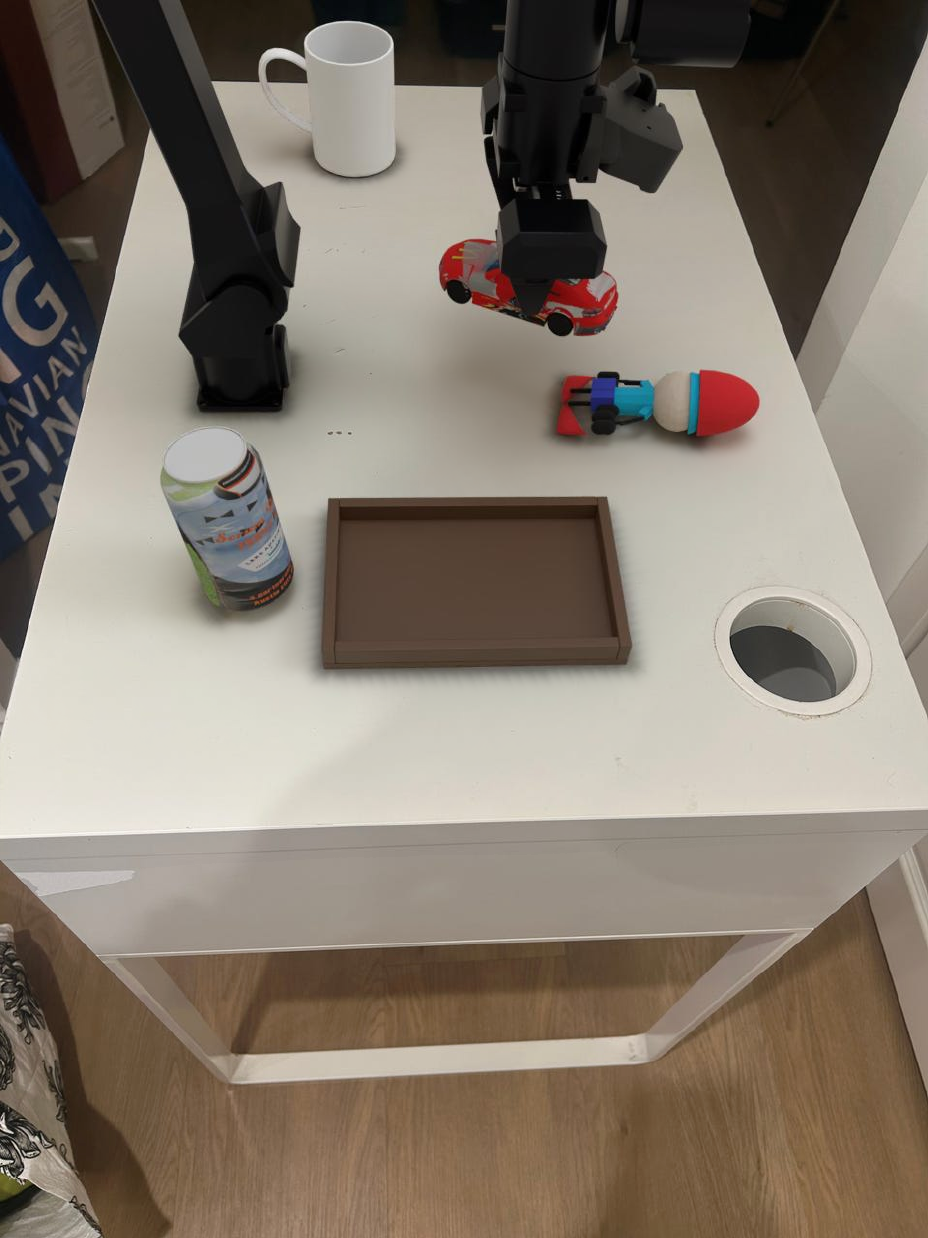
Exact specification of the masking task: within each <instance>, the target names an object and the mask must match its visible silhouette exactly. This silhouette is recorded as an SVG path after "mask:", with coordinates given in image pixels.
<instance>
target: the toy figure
mask: <svg viewBox="0 0 928 1238" xmlns="http://www.w3.org/2000/svg"><path fill="white" fill-rule="evenodd" d="M698 372H699V373H697V372H693V371H691V372H688V371H684V370H677V371H672V372H670V373H669V372H668V373H666V375H664V376H663V377H661V378H660V379H659V380H658V382H657V383H656V385H655V386H653V385H652V383H651V382H650V380H649V379H646V380H639V379H637V380H636V379H621V375H620V373H619V372H617V371H609V370H608V371H606V370H602V371H599V372H598V373H597V375H596V377H595V376H591V375H590V376H589V375H575V374H574V375H568V376H566V378H565V379H564V383H563V385H562V388H561V395H560V396H561V403H563V405H562V406H561V408H560V411H559V414H558V418H557V419H558V420H557V427H556V433H557V434H560V435H565V436H566V435H567V436H576V435H577V436H580V435H581V436H582V435H587V432H585V431H584V429H582V427H581V426H580V423H579V422H578V420H577V418H576V416H575V414H574V412H573V410H572V408H571V407H590V413H592V415H591V422H592V423H591V425H590V426H591V427H590V429H591V432H592V434H594V435H596V436H610V435H612V434H614V433H615V431H616V426H620V427H623V426H626V425H631V424H634V423H639V422H647V420H648V419H649V418H650V417H651V416H653V417H654V419H655V421H656V423H658V425H659V426H661V427H662V428H664V429H665V430H667V431H670V432H677V433H679V432H684V431H686V432H687V435H692V434H694V433H695V436H696V437H707V436H715V435H719V434H724V433H728V432H730V431H733V430H736V429H738V428H740V427H742V426H744V425H745V424H748V422H749V421H750V420H752V418H753V417H755V416H756V414H757V412H758V410H759V408H760V405H761V404H760V401H761V399H760V396H759V394H758V391H757V389H755V387H754V386H752V384H750V383H749V382H748V381H747V380H745V379H743V378H741V377H739V376H737V375H735V374H731V373H729V372H723V371H719V370H713V369H699V371H698ZM590 382H591V387H585V386H587V384H589V383H590ZM620 384H623V385H624V386H619V385H620ZM584 387H585V388H584ZM577 394H590V400H571V399H572V398H573V397H574V396H575V395H577ZM619 416H637V417H633V418H630V419H625V420H616V419H617V418H618V417H619Z"/></svg>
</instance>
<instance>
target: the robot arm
mask: <svg viewBox="0 0 928 1238" xmlns="http://www.w3.org/2000/svg"><path fill="white" fill-rule="evenodd" d="M506 2H507V3H506V14H505V27H504V29H505V31H504V40H503V41H504V43H503V52H502V51H501V52H500V51H499V52H498V58H497V74H495V75H494V76H493V77H492V78H491V79H490V80H489V81H488V82H486V84H484V85H483V86H482V87H481V97H480V111H479V113H480V114H479V115H480V123H481V131H482V135H483V136H486V135H488V136H486V137H485V138H484V139H483V148H484V155H485V156H484V157H485V163H486V166H487V169H488V173H489V176H490V179H491V183H492V186H493V189H494V193H495V196H496V200H497V203H498V206H499V209H500V210H499V211H498V214H497V224H496V229H494V235H495V241H496V243H497V251H498V257H499V265H500V273H501V274H503V275H505V276H507V277H508V278H509V281H510V283H511V285H512V288H513V291H514V293H515V296H516V299H517V301H518V304H519V307H520V309H521V312H522V314H523V315H525V316H535V315H538V314H539V312H540V310H541V308H542V306H543V304H544V302H545V301H546V299H547V297H548V295H549V293H550V291H551V289H552V287H553V285H554V283H555V281H556V279H595V278H597V277H598V276H599V275H601V274H602V272H603V271H604V267H605V260H606V256H607V250H608V243H607V239H606V234H605V230H604V226H603V221H602V218H601V214H600V212H599V210H597V208H596V207H595V206H594V205H593V204H592V202H590V201H589V200H588V198H574V197H573V191H572V187H571V183H570V180H572V179H573V180H575V182H576V183H577V184H596V183H597V179H598V174H599V170H600V172H602V173H604V174H606V175H608V176H611V177H613V178H616V179H619V180H621V181H624V182H627V183H629V184H632V185H634V186H637V187H638V188H639V191H641V192H644V193H646V194H656V193H657V192H658V190H659V188H660V187H661V185H662V183H663V182H664V180H665V179H666V177H667V175H668V174H669V172H670V171H671V169H672V167H673V166H674V164H675V162H676V161H677V159H678V158H679V156H680V155H681V153H682V151H683V150H684V144H683V140H682V138H681V135H680V132H679V128H678V125H677V122H676V120H675V118H674V116H673V115H672V114H671V113H670V112H669V111H668V110H667V109H668V108H667V106H666V104H665V103H663V102H661V101H660V102H659V103H658V105H657V96H658V95H657V94H658V85H657V83H656V79H655V77H654V74H653V73H652V72H651V71H649V70H648V69H644V68H642V67H639V66H637V65H647V66H648V65H650V66H651V65H653V66H676V67H677V66H679V67H699V68H700V67H701V68H702V67H703V68H726V69H727V68H729V69H730V68H731V69H732V68H733V67H735V65H737V64H738V61H739V60H740V58H741V56H742V53H743V51H744V48H745V45H746V43H747V39H748V36H749V32H750V29H751V26H752V25H751V23H752V18H751V15H750V10H751V3H752V0H616V3H615V4H616V5H615V19H614V20H615V21H614V22H615V23H614V30H615V31H614V32H615V34H614V35H615V41H616V43H617V44H625V45H626V44H630V45H629V46H630V53H629V54H630V59H631V60H632V63H633V66H631V67H630V68H628V70H626V71H625V72H624V73H623V74H622V75H620V76H619V77H618V78H616V80H614V81H610V83H609V85H608V86H605V85H602V84H601V80H600V73H601V68H602V67H601V66H602V60H603V54H604V48H605V41H606V35H607V28H608V23H609V22H608V21H609V16H610V10H611V4H612V0H507V1H506ZM91 3H92V5H93V7H94V9H95V11H96V13H97V16H98V18H99V20H100V23H101V25H102V26H103V29H104V31H105V34H106V35H107V38H108V39H109V42H110V44H111V46H112V49H113V50H114V53H115V54H116V58H117V59H118V62H119V65H120V66H121V68H122V70H123V72H124V75H125V77H126V79H127V81H128V83H129V86H130V89H131V90H132V93H133V95H134V96H135V98H136V101H137V103H138V105H139V107H140V110H141V111H142V114H143V116H144V119H145V120H146V122H147V124H148V127H149V129H150V131H151V134H152V136H153V138H154V140H155V143H156V145H157V147H158V148H159V151H160V153H161V156H162V157H163V159H164V162H165V164H166V166H167V169H168V171H169V172H170V175H171V177H172V179H173V181H174V184H175V186H176V188H177V191H178V192H179V194H180V196H181V199H182V201H183V204H184V206H185V210H186V214H187V220H188V221H187V222H188V229H189V236H190V243H191V251H192V260H193V264H192V270H191V274H190V279H189V283H188V287H187V293H186V297H185V302H184V305H183V306H184V307H183V312H182V315H181V320H180V325H179V329H178V334H177V337H178V339H179V340H180V341H181V343H182V344H183V346H184V347H185V348H186V350H187V351H188V353H189V354H190V355H191V359H192V362H193V367H194V371H195V375H196V379H197V383H198V390H197V397H196V407H197V409H198V410H199V411H200V412H280V411H281V410H283V408H284V401H285V389H289V388H290V385H291V376H292V375H291V373H292V362H291V354H290V345H289V339H288V332H287V331H288V330H287V326H285V324H283V323H279V322H280V321H281V320H282V318H283V317H284V316H285V315H286V313H287V312H288V310H289V309H288V308H289V302H290V294H291V289H293V288H294V287H295V281H296V273H297V264H298V256H299V248H300V239H301V231H302V228H301V227H302V226H300V225H299V223H298V222H297V221H296V220H295V219H294V217H293V215H292V213H291V212H290V209H289V205H288V201H287V196H286V189H285V186H284V183H283V181H281V180H280V181H277V182H274V183H271V184H269V185H266V186H263V184H261V183H260V182H259V181H258V180H257V179H256V178H255V177H254V176H253V175H252V174H251V173H250V172H249V171H248V169H247V167H246V166H245V164H244V162H243V158H242V157H241V154H240V151H239V149H238V145H237V144H236V141H235V138H234V136H233V133H232V131H231V128H230V126H229V123H228V120H227V118H226V115H225V112H224V110H223V107H222V105H221V102H220V100H219V98H218V94H217V92H216V90H215V87H214V85H213V82H212V80H211V77H210V74H209V72H208V69H207V66H206V64H205V61H204V59H203V56H202V53H201V51H200V49H199V46H198V44H197V41H196V38H195V35H194V33H193V31H192V27H191V25H190V23H189V19H188V18H187V15H186V12H185V10H184V8H183V5H182V2H181V0H91Z"/></svg>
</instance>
